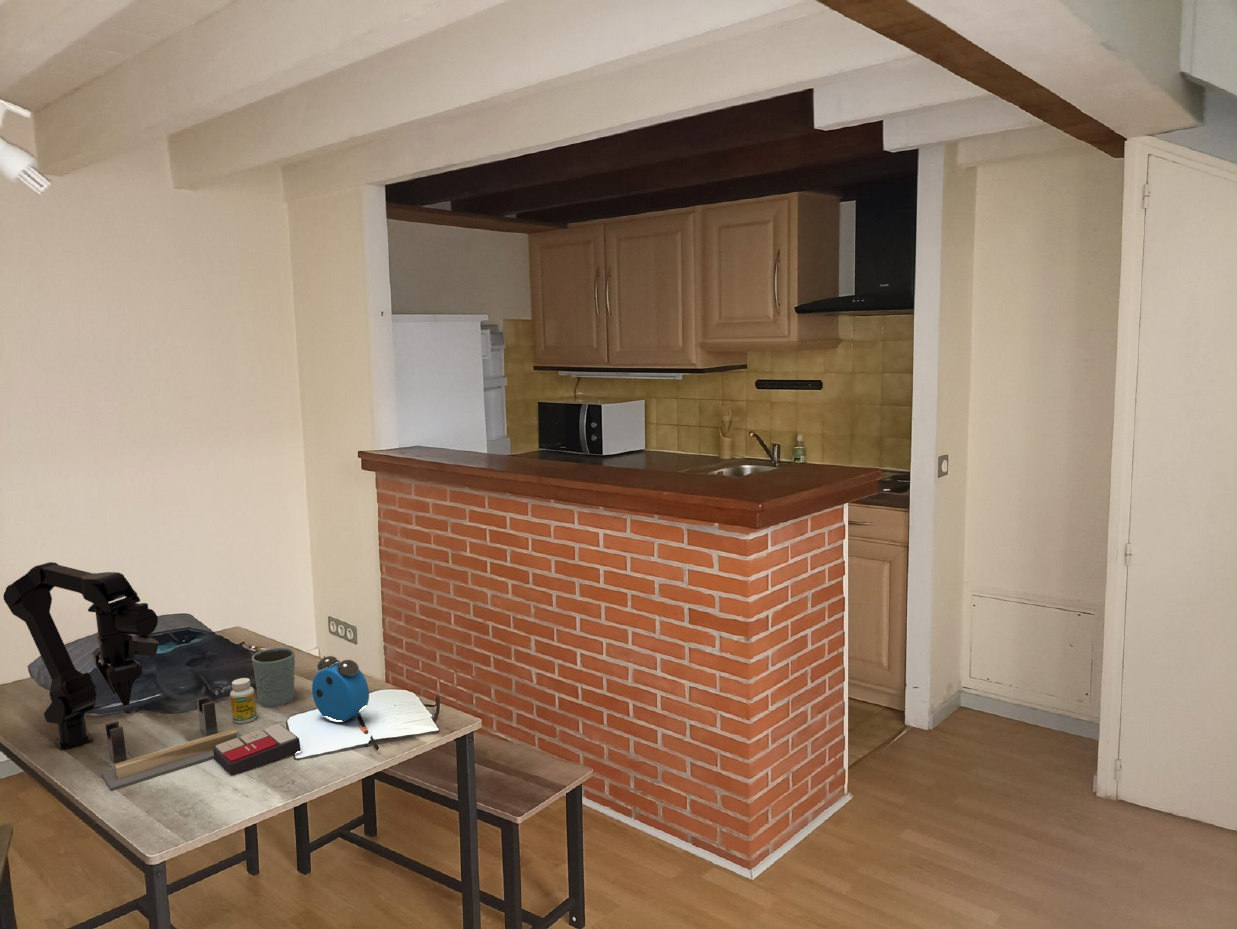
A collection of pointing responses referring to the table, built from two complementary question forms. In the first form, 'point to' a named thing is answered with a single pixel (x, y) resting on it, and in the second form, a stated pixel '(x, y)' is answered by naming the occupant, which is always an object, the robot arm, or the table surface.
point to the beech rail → (172, 754)
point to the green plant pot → (274, 676)
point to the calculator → (256, 749)
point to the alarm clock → (339, 688)
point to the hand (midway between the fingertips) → (121, 699)
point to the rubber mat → (155, 770)
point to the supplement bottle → (243, 701)
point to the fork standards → (117, 736)
